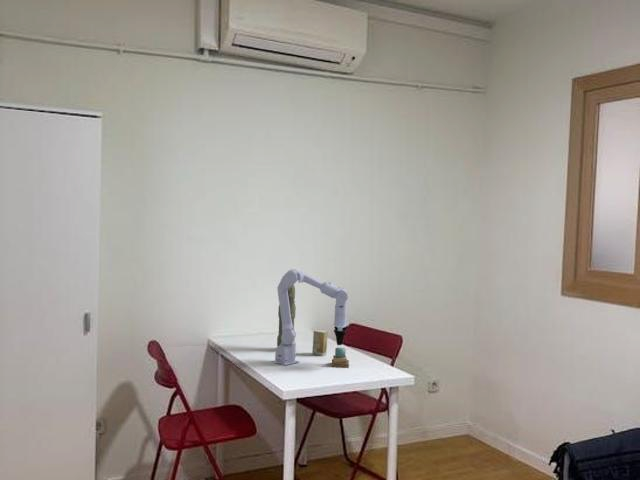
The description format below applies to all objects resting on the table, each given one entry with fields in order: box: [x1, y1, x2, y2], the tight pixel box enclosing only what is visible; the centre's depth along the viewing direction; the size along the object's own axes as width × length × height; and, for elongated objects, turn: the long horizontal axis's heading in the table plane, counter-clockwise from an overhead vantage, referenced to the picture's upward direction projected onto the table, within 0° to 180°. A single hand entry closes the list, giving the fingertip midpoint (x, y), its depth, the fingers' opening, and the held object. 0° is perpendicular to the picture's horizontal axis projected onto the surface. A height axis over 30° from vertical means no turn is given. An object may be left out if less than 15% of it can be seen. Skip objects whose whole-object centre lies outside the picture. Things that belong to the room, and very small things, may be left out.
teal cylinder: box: [334, 347, 347, 358], centre depth 269 cm, size 5×5×4 cm
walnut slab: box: [331, 358, 350, 369], centre depth 270 cm, size 8×8×2 cm
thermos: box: [276, 283, 297, 347], centre depth 296 cm, size 9×12×35 cm
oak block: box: [332, 354, 348, 363], centre depth 270 cm, size 6×6×2 cm
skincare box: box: [311, 329, 328, 357], centre depth 289 cm, size 6×4×12 cm
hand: (339, 343), depth 270 cm, fingers open, 7 cm apart
